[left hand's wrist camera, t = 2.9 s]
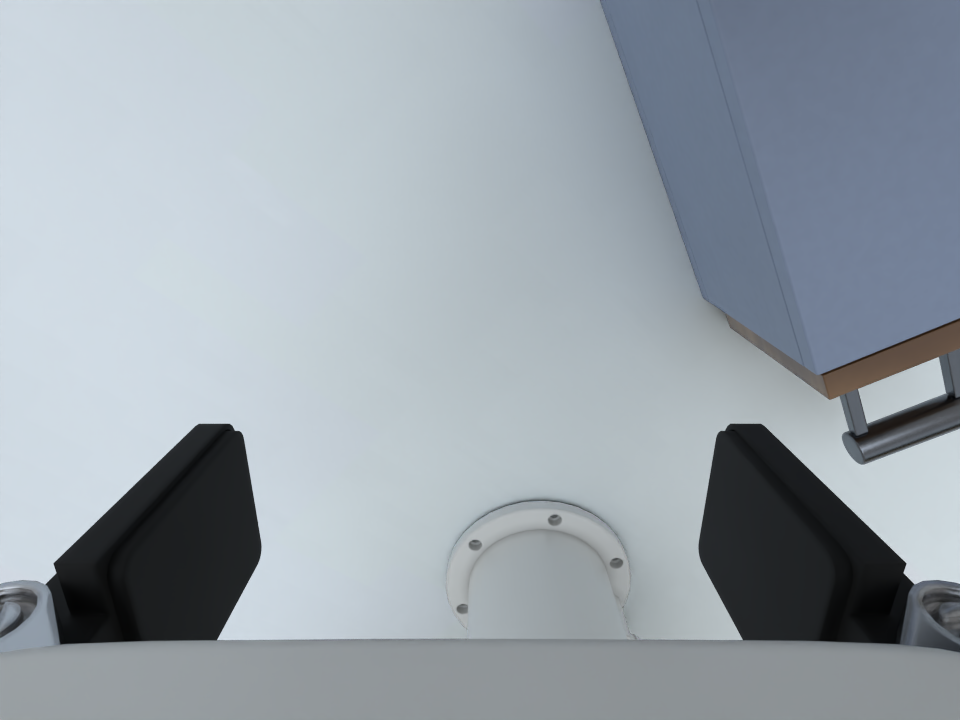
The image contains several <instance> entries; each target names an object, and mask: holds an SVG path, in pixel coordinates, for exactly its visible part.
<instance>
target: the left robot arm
mask: <svg viewBox="0 0 960 720" xmlns="http://www.w3.org/2000/svg"><path fill="white" fill-rule="evenodd" d="M260 556H261V539H260V533H259V527H258V521H257V515H256V509H255V503H254V497H253V491H252V485H251V479H250V473H249V467H248V461H247V455H246V449H245V443H244V438H243V435H242V433H241V432H240V431H235V430H234V428H233V426H232V425H230V424H198V425H197V426H195V427H194V428H193V429H192V430H191V431H190V432H189V433H188V434H187V435H186V436H185V437H184V438H183V439H182V440H181V441H180V442H179V443H178V444H177V445H176V446H175V447H174V448H173V449H171V450H170V451H169V452H168V453H167V454H166V455H165V456H164V457H163V458H162V459H161V460H160V461H159V462H158V463H157V464H156V465H155V466H154V467H153V468H152V469H151V470H150V471H149V472H148V473H147V474H146V475H145V476H144V477H143V478H141V479H140V480H139V481H138V482H137V483H136V484H135V485H134V486H133V487H132V488H131V489H130V490H129V491H128V492H127V493H126V494H125V495H124V496H123V497H122V498H121V499H120V500H119V501H118V502H117V503H116V504H115V505H114V506H113V507H111V508H110V509H109V510H108V511H107V512H106V513H105V514H104V515H103V516H102V517H101V518H100V519H99V520H98V521H97V522H96V523H95V524H94V525H93V526H92V527H91V528H90V529H89V530H88V531H87V532H86V533H85V534H84V535H83V536H81V537H80V538H79V539H78V540H77V541H76V542H75V543H74V544H73V545H72V546H71V547H70V548H69V549H68V550H67V551H66V552H65V553H64V554H63V555H62V556H61V557H60V558H59V559H58V560H57V561H56V562H55V563H54V566H55V569H56V572H57V573H56V574H55V575H54V576H53V577H52V578H51V579H50V580H49V581H48V582H47V583H46V584H42V583H40V582H38V581H28V580H20V581H13V582H6V583H2V584H0V720H960V584H958V583H954V582H947V581H940V580H932V581H922V582H920V583H918V584H914V583H913V582H912V581H911V580H910V579H909V578H908V577H907V576H906V575H905V574H904V573H903V572H904V569H905V566H906V563H905V562H904V561H903V560H902V559H901V558H900V557H899V556H898V555H897V554H896V553H895V552H894V551H893V550H892V549H891V548H890V547H889V546H888V545H887V544H886V543H885V542H884V541H883V540H882V539H881V538H880V537H879V536H877V535H876V534H875V533H874V532H873V531H872V530H871V529H870V528H869V527H868V526H867V525H866V524H865V523H864V522H863V521H862V520H861V519H860V518H859V517H858V516H857V515H856V514H855V513H854V512H853V511H852V510H851V509H850V508H849V507H847V506H846V505H845V504H844V503H843V502H842V501H841V500H840V499H839V498H838V497H837V496H836V495H835V494H834V493H833V492H832V491H831V490H830V489H829V488H828V487H827V486H826V485H825V484H824V483H823V482H822V481H821V480H820V479H819V478H817V477H816V476H815V475H814V474H813V473H812V472H811V471H810V470H809V469H808V468H807V467H806V466H805V465H804V464H803V463H802V462H801V461H800V460H799V459H798V458H797V457H796V456H795V455H794V454H793V453H792V452H791V451H790V450H789V449H787V448H786V447H785V446H784V445H783V444H782V443H781V442H780V441H779V440H778V439H777V438H776V437H775V436H774V435H773V434H772V433H771V432H770V431H769V430H768V429H767V428H766V427H765V426H763V425H762V424H730V425H728V426H727V428H726V430H725V431H720V432H719V433H718V435H717V438H716V443H715V449H714V455H713V461H712V467H711V473H710V479H709V485H708V491H707V497H706V503H705V509H704V515H703V521H702V527H701V533H700V539H699V556H700V559H701V562H702V564H703V566H704V568H705V570H706V572H707V574H708V576H709V577H710V579H711V581H712V583H713V585H714V587H715V589H716V590H717V592H718V594H719V596H720V598H721V600H722V602H723V603H724V605H725V607H726V609H727V611H728V613H729V615H730V616H731V618H732V620H733V622H734V624H735V626H736V628H737V629H738V631H739V633H740V635H741V637H742V639H743V640H641V639H640V638H638V637H637V636H635V635H633V634H631V633H630V632H629V629H628V626H627V622H626V619H625V616H624V613H623V607H624V605H625V603H626V600H627V597H628V594H629V591H630V582H631V573H630V567H629V562H628V559H627V556H626V553H625V550H624V548H623V546H622V544H621V542H620V541H619V539H618V537H617V535H616V534H615V533H614V532H613V531H612V530H611V529H610V527H609V526H608V525H607V524H606V523H605V522H603V521H602V520H600V519H599V518H598V517H596V516H595V515H593V514H592V513H589V512H587V511H585V510H583V509H581V508H579V507H576V506H572V505H568V504H565V503H561V502H551V501H530V502H521V503H517V504H513V505H508V506H505V507H503V508H500V509H498V510H495V511H493V512H490V513H489V514H487V515H485V516H484V517H482V518H481V519H479V520H478V521H476V522H475V523H474V524H473V525H471V526H470V527H469V528H468V529H467V530H466V531H465V532H464V533H463V534H462V536H461V537H460V538H459V540H458V541H457V543H456V544H455V546H454V548H453V550H452V553H451V555H450V557H449V561H448V566H447V572H446V592H447V597H448V602H449V604H450V607H451V609H452V611H453V613H454V615H455V616H456V617H457V619H458V620H459V621H460V623H461V624H462V625H463V626H464V627H465V628H466V629H467V639H319V640H217V639H218V637H219V635H220V633H221V631H222V629H223V628H224V626H225V624H226V622H227V620H228V618H229V616H230V615H231V613H232V611H233V609H234V607H235V605H236V603H237V602H238V600H239V598H240V596H241V594H242V592H243V590H244V589H245V587H246V585H247V583H248V581H249V579H250V577H251V576H252V574H253V572H254V570H255V568H256V566H257V564H258V562H259V559H260Z"/></svg>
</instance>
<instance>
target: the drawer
mask: <svg viewBox="0 0 960 720" xmlns="http://www.w3.org/2000/svg"><path fill="white" fill-rule="evenodd" d="M726 316H727V319H728V322H729V325H730V328H732V329H733V330H734V331H736V332H737V333H739V334H740V335H741V336H743V337H744V338H745V339H747V340H748V341H750V342H751V343H752V344H754V345H755V346H756V347H758V348H759V349H761V350H762V351H763V352H765V353H766V354H767V355H769V356H770V357H772V358H773V359H774V360H776V361H777V362H778V363H780V364H781V365H783V366H784V367H785V368H787V369H788V370H789V371H791V372H792V373H794V374H795V375H796V376H798V377H799V378H800V379H802V380H803V381H805V382H806V383H807V384H809V385H810V386H811V387H813V388H814V389H816V390H817V391H818V392H820V393H821V394H822V395H824V396H825V397H827V398H828V399H833V398H836V397H838V396H840V399H841V403H842V406H843V410H844V413H845V417H846V421H847V424H848V428H849V431H847V432H845V433H843V435H842V440H843V443H844V446H845V448H846V450H847V451H848V453H849V454H850V456H851V457H852V458H853V459H854V460H855V461H856V462H857V463H859V464H861V465H864V464H867V463H869V462H872V461H875V460H877V459H880V458H883V457H885V456H888V455H891V454H893V453H896V452H899V451H901V450H904V449H907V448H909V447H912V446H915V445H917V444H920V443H923V442H925V441H928V440H931V439H933V438H936V437H939V436H942V435H944V434H947V433H950V432H952V431H955V430H958V429H960V318H959V319H956V320H954V321H951V322H949V323H946V324H944V325H941V326H939V327H937V328H934V329H932V330H929V331H927V332H924V333H922V334H919V335H917V336H914V337H912V338H909V339H907V340H904V341H902V342H899V343H897V344H894V345H892V346H889V347H887V348H885V349H882V350H880V351H877V352H875V353H872V354H870V355H867V356H865V357H862V358H860V359H857V360H855V361H852V362H850V363H847V364H845V365H842V366H840V367H837V368H835V369H833V370H830V371H828V372H825V373H823V374H820V375H816V374H814V373H813V372H811V371H810V370H808V369H807V368H806V367H805V366H802V365H801V364H799V363H798V362H796V361H795V360H794V359H792V358H791V357H789V356H788V355H786V354H785V353H783V352H782V351H780V350H779V349H777V348H776V347H775V346H773V345H772V344H770V343H769V342H767V341H766V340H764V339H763V338H761V337H760V336H758V335H757V334H756V333H754V332H753V331H751V330H750V329H748V328H747V327H745V326H744V325H742V324H741V323H739V322H738V321H736V320H735V319H734V318H732V317H731V316H729V315H728V314H726ZM937 357H939V359H940V365H941V370H942V375H943V380H944V385H945V390H946V394H943V395H941V396H938V397H936V398H933V399H930V400H928V401H925V402H923V403H920V404H917V405H915V406H912V407H910V408H907V409H904V410H902V411H899V412H897V413H894V414H891V415H889V416H886V417H884V418H881V419H878V420H876V421H873V422H871V423H868V424H867V423H866V419H865V415H864V411H863V407H862V404H861V400H860V396H859V392H858V388H861V387H864V386H866V385H869V384H871V383H874V382H876V381H879V380H881V379H884V378H886V377H889V376H891V375H894V374H896V373H899V372H901V371H904V370H907V369H909V368H912V367H914V366H917V365H919V364H922V363H924V362H927V361H929V360H932V359H934V358H937Z"/></svg>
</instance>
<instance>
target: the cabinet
mask: <svg viewBox="0 0 960 720" xmlns="http://www.w3.org/2000/svg"><path fill="white" fill-rule="evenodd" d="M600 2H601V4H602V7H603V10H604V13H605V16H606V19H607V22H608V25H609V27H610V30H611V33H612V36H613V39H614V42H615V45H616V48H617V51H618V53H619V56H620V59H621V62H622V65H623V68H624V71H625V74H626V76H627V79H628V82H629V85H630V88H631V91H632V94H633V97H634V100H635V102H636V105H637V108H638V111H639V114H640V117H641V120H642V123H643V125H644V128H645V131H646V134H647V137H648V140H649V143H650V146H651V149H652V151H653V154H654V157H655V160H656V163H657V166H658V169H659V172H660V174H661V177H662V180H663V183H664V186H665V189H666V192H667V195H668V198H669V200H670V203H671V206H672V209H673V212H674V215H675V218H676V221H677V223H678V226H679V229H680V232H681V235H682V238H683V241H684V244H685V247H686V249H687V252H688V255H689V258H690V261H691V264H692V267H693V270H694V272H695V275H696V278H697V281H698V284H699V287H700V290H701V293H702V296H703V298H704V299H705V300H707V301H708V302H710V303H712V304H713V305H715V306H716V307H717V308H719V309H720V310H722V311H723V312H725V313H726V314H728V315H729V316H731V317H732V318H734V319H735V320H736V321H738V322H739V323H741V324H742V325H744V326H745V327H747V328H748V329H750V330H751V331H753V332H754V333H756V334H757V335H758V336H760V337H761V338H763V339H764V340H766V341H767V342H769V343H770V344H772V345H773V346H775V347H776V348H777V349H779V350H780V351H782V352H783V353H785V354H786V355H788V356H789V357H791V358H792V359H794V360H795V361H796V362H798V363H799V364H801V365H802V366H805V367H806V368H807V369H808V370H810V371H811V372H813V373H814V374H816V375H820V374H823V373H825V372H828V371H830V370H833V369H835V368H837V367H840V366H842V365H845V364H847V363H850V362H852V361H855V360H857V359H860V358H862V357H865V356H867V355H870V354H872V353H875V352H877V351H880V350H882V349H885V348H887V347H889V346H892V345H894V344H897V343H899V342H902V341H904V340H907V339H909V338H912V337H914V336H917V335H919V334H922V333H924V332H927V331H929V330H932V329H934V328H937V327H939V326H941V325H944V324H946V323H949V322H951V321H954V320H956V319H959V318H960V0H600Z"/></svg>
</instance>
